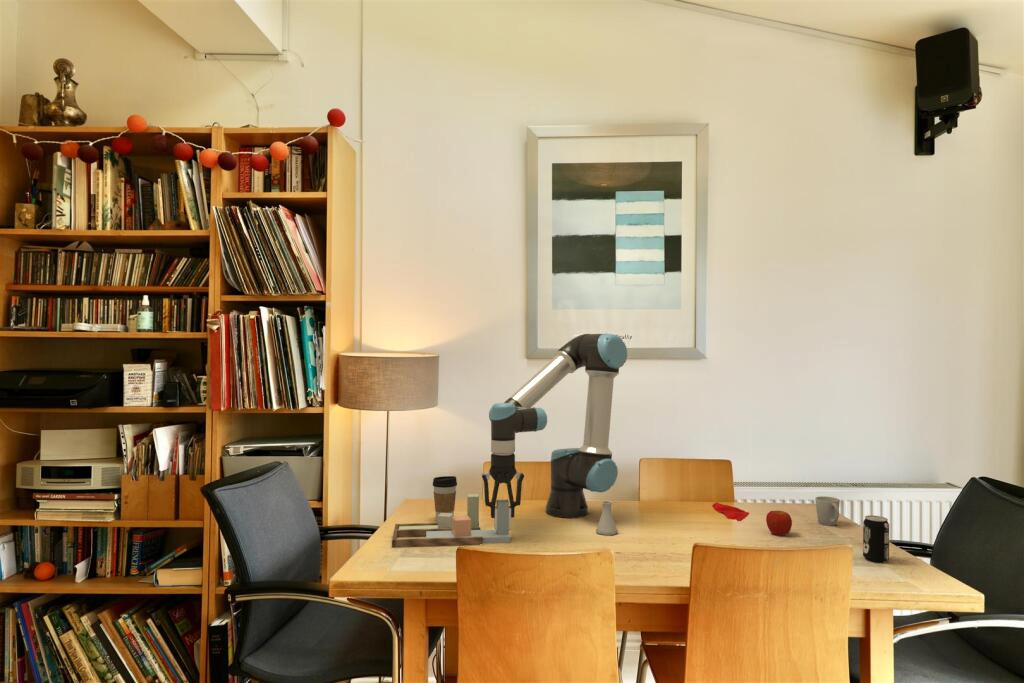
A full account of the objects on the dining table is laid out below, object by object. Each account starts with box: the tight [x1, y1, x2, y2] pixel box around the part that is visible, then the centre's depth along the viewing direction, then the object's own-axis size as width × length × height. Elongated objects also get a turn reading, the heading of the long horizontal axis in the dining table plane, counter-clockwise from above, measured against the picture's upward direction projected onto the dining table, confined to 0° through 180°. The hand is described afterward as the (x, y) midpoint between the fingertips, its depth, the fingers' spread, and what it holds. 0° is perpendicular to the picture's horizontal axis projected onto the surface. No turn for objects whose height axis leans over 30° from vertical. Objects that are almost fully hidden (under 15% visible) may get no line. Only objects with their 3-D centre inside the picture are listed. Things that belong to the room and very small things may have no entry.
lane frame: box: [391, 522, 484, 549], centre depth 213 cm, size 27×18×2 cm, turn 97°
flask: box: [595, 500, 619, 536], centre depth 220 cm, size 7×7×10 cm
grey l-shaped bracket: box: [399, 493, 480, 530], centre depth 218 cm, size 26×5×12 cm, turn 97°
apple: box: [765, 510, 793, 536], centre depth 219 cm, size 8×8×8 cm
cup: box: [815, 495, 841, 527], centre depth 231 cm, size 8×10×8 cm
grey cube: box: [437, 513, 453, 528], centre depth 218 cm, size 4×4×4 cm
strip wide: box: [425, 499, 511, 544], centre depth 211 cm, size 26×8×12 cm, turn 97°
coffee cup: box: [432, 475, 458, 523], centre depth 233 cm, size 8×8×15 cm
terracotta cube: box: [452, 515, 471, 537], centre depth 210 cm, size 5×5×5 cm
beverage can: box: [862, 514, 890, 564], centre depth 194 cm, size 7×7×12 cm
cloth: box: [711, 501, 750, 522], centre depth 247 cm, size 26×14×2 cm, turn 170°
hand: (502, 527), depth 212 cm, fingers closed on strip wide, 3 cm apart
